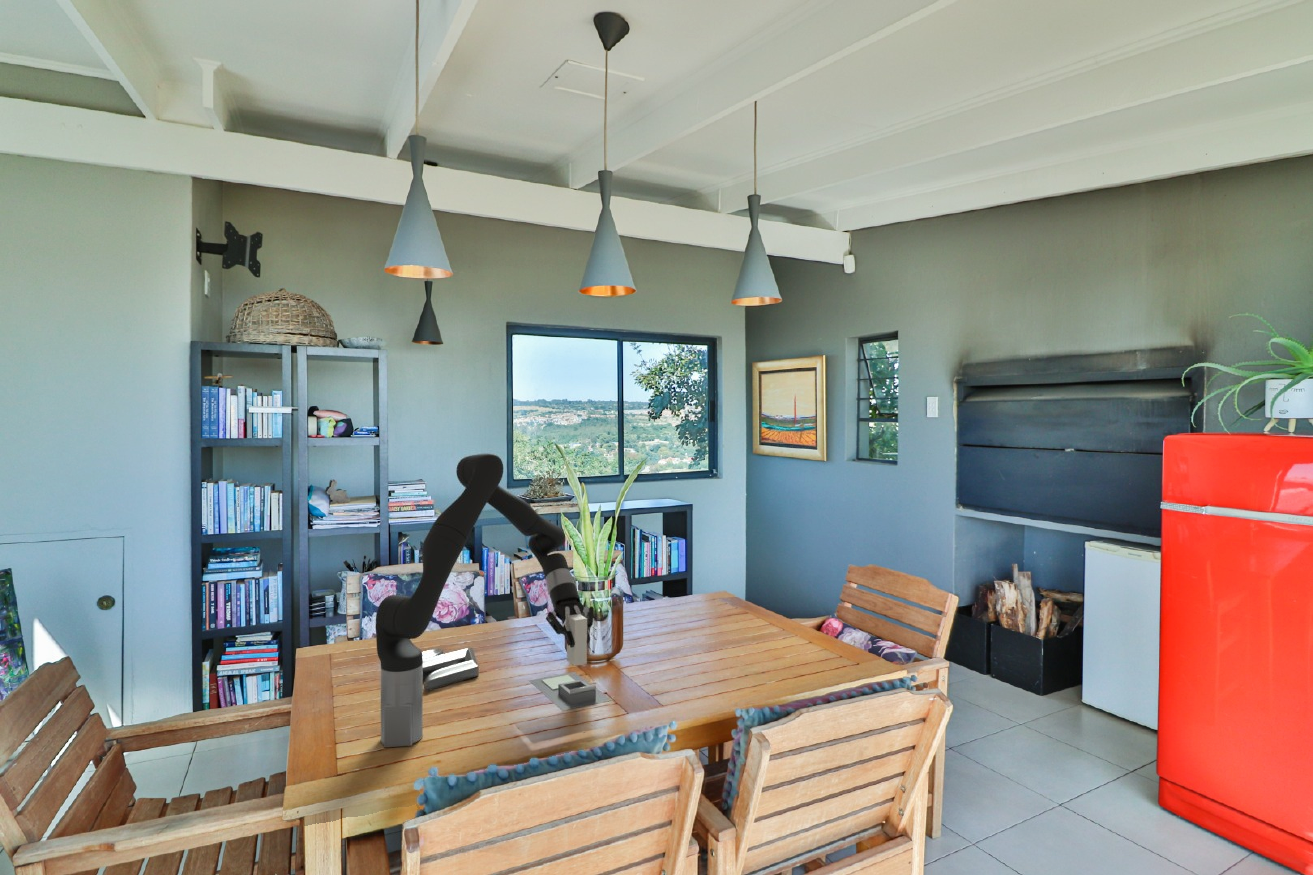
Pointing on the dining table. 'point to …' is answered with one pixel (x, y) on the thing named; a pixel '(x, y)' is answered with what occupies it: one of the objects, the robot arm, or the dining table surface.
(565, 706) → the grey socket base
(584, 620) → the cream rectangular block
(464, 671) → the emblem
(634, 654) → the dining table surface
